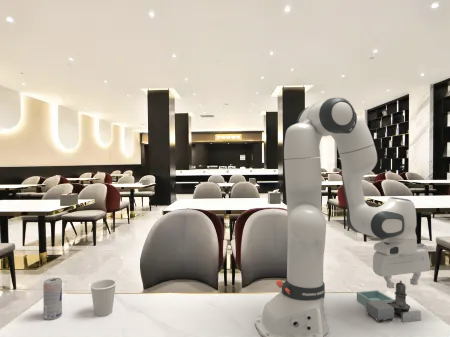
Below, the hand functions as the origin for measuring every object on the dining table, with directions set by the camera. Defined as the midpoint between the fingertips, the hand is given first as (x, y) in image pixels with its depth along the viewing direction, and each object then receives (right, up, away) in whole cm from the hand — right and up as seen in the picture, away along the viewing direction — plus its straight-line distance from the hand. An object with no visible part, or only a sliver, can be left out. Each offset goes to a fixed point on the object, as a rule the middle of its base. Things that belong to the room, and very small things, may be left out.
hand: (402, 286), depth 106 cm
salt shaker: (-1, -10, 0) cm, 10 cm away
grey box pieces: (-4, -10, -1) cm, 11 cm away
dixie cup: (-102, -10, +1) cm, 102 cm away
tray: (-5, -10, +8) cm, 14 cm away
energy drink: (-117, -10, -2) cm, 118 cm away
